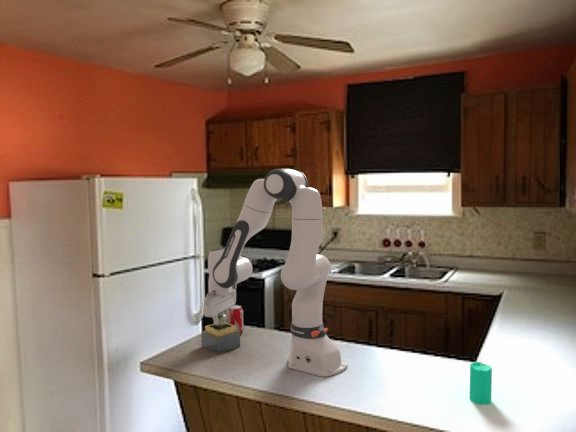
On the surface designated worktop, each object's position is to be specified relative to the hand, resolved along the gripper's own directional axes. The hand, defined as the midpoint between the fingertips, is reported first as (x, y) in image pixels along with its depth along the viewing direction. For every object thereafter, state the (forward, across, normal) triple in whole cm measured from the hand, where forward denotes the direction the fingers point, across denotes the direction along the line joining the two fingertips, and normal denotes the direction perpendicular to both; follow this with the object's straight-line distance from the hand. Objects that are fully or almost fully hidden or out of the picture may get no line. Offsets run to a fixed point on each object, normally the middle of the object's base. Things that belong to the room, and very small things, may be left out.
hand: (220, 322), depth 188 cm
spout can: (+3, 0, 0) cm, 3 cm away
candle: (+11, -13, -96) cm, 98 cm away
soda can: (+10, +16, +2) cm, 20 cm away
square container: (+10, 0, 0) cm, 10 cm away
